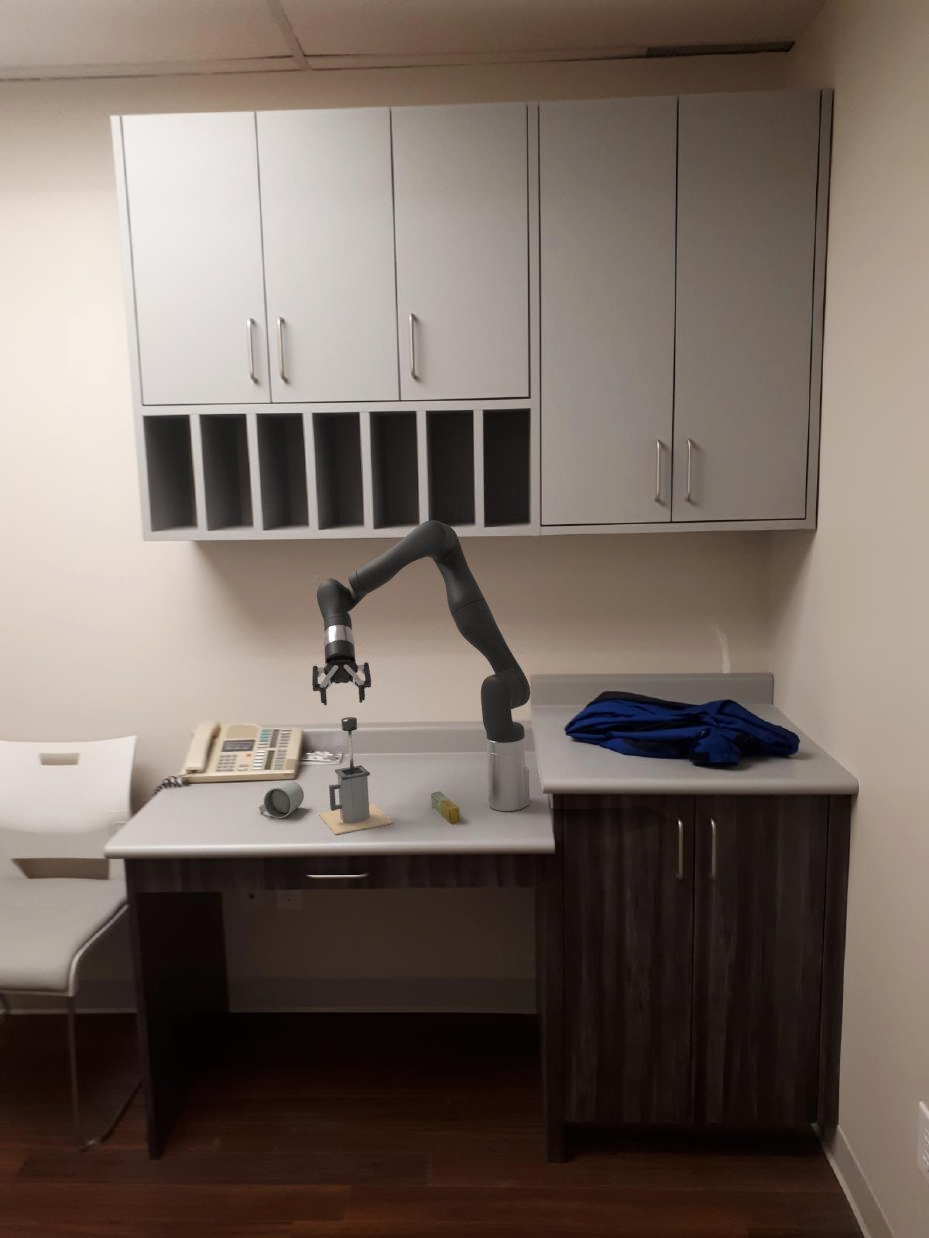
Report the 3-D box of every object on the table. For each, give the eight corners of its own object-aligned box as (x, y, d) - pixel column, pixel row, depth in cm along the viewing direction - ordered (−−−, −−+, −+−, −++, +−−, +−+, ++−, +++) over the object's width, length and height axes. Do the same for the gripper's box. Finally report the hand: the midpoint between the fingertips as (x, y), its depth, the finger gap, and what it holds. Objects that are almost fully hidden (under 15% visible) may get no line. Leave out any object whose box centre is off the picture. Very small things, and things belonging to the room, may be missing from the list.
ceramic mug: (307, 807, 225) (304, 777, 224) (292, 819, 218) (290, 788, 216) (268, 805, 228) (265, 776, 227) (253, 817, 220) (250, 787, 219)
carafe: (373, 804, 225) (370, 758, 223) (392, 823, 213) (389, 774, 211) (318, 815, 220) (315, 767, 218) (335, 835, 207) (331, 785, 205)
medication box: (431, 808, 222) (430, 792, 221) (441, 806, 223) (440, 790, 222) (450, 825, 211) (449, 808, 210) (460, 822, 212) (459, 806, 211)
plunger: (357, 771, 217) (354, 716, 215) (362, 776, 213) (358, 719, 211) (342, 774, 215) (339, 718, 213) (347, 778, 212) (343, 722, 210)
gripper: (367, 654, 231) (372, 708, 221) (311, 657, 229) (313, 712, 219) (367, 637, 225) (372, 692, 215) (310, 640, 223) (312, 696, 213)
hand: (343, 702), depth 217 cm, fingers open, 8 cm apart
